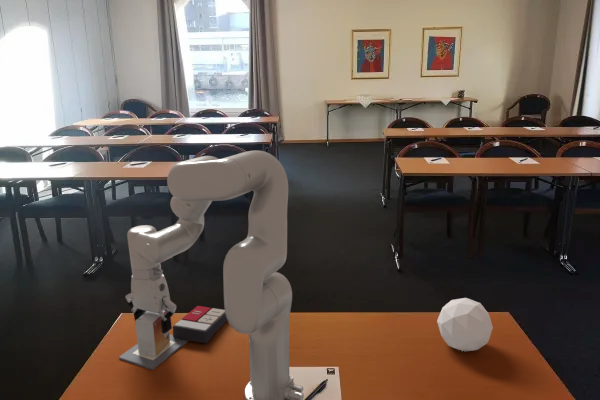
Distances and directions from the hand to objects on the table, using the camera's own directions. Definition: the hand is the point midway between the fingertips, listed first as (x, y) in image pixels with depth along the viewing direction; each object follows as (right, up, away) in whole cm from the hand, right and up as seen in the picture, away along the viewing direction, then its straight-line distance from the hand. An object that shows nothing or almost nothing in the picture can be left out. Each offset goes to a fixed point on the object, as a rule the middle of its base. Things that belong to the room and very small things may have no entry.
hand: (153, 327), depth 133 cm
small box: (0, -7, +2) cm, 7 cm away
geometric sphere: (+87, -6, +3) cm, 88 cm away
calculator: (+11, -4, +12) cm, 17 cm away
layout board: (0, -7, +2) cm, 7 cm away
